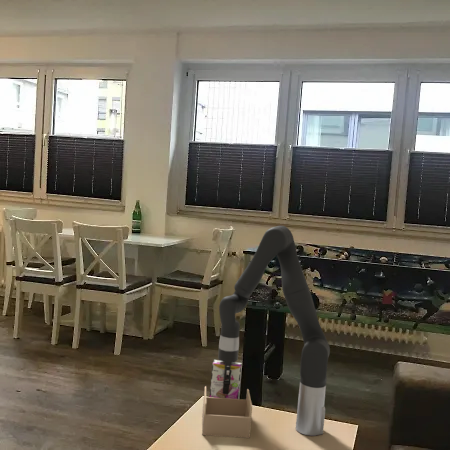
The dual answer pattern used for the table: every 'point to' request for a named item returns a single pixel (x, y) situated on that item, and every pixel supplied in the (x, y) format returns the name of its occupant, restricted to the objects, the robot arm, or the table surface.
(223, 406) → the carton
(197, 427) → the table surface
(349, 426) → the table surface
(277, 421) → the table surface
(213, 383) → the candy bar box
